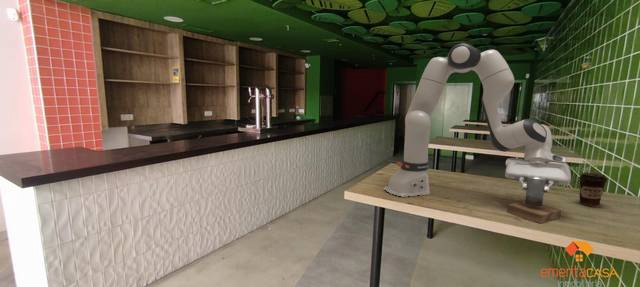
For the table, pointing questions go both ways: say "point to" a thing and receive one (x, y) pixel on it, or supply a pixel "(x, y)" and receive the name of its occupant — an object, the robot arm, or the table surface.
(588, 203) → the coffee cup
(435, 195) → the table surface
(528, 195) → the tin
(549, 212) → the base block
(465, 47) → the robot arm
